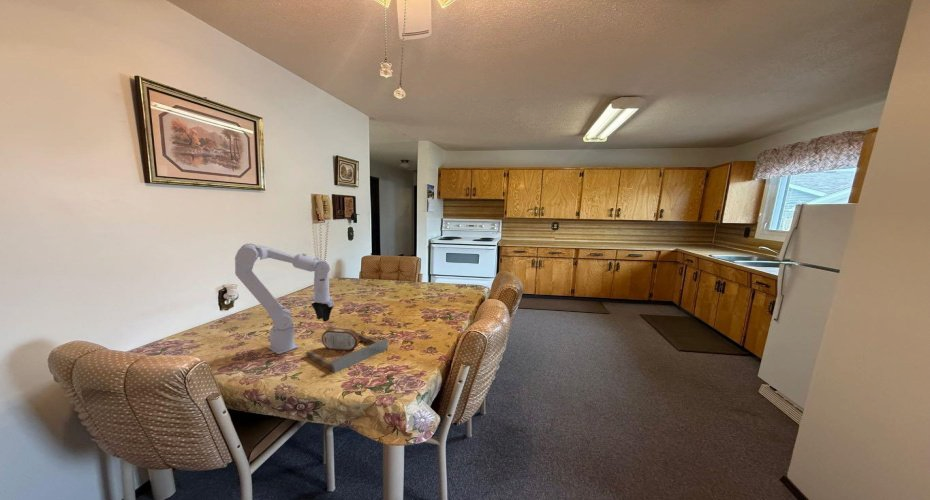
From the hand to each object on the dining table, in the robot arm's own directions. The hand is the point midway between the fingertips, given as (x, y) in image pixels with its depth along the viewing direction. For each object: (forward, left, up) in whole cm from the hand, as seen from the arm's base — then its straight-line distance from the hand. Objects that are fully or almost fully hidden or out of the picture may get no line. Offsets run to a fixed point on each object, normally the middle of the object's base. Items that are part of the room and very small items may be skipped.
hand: (323, 319), depth 128 cm
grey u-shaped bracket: (+18, 0, -9) cm, 20 cm away
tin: (+13, 0, -10) cm, 16 cm away
